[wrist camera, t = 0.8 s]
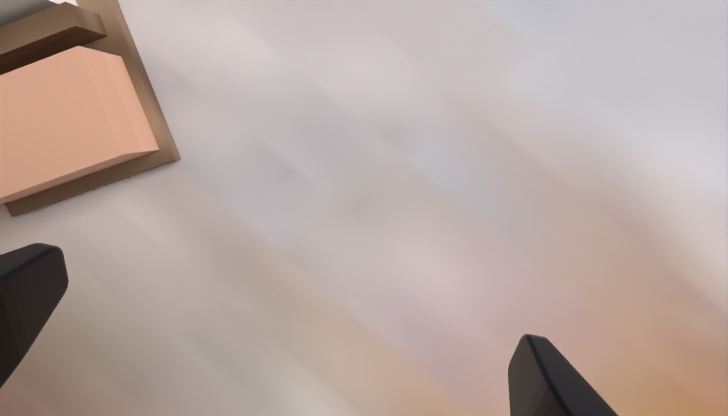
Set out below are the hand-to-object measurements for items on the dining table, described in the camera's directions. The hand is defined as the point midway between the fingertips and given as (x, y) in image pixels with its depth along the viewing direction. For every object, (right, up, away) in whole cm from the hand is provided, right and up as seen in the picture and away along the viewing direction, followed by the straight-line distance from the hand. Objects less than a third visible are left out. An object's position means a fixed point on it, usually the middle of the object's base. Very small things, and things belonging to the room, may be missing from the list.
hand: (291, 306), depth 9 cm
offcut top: (-13, +5, +12) cm, 19 cm away
